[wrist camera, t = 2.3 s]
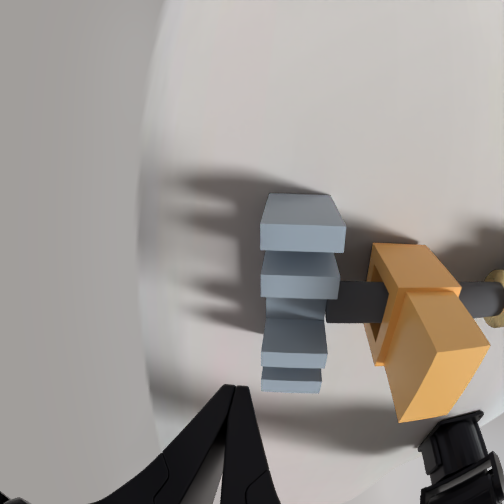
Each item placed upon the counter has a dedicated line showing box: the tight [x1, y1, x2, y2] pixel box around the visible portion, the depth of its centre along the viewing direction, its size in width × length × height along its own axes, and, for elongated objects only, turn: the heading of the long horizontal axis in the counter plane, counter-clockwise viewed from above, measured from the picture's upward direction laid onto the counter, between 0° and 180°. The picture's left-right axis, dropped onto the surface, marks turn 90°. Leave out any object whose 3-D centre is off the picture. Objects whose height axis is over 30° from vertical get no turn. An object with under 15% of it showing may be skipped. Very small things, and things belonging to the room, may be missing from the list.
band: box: [484, 270, 504, 328], centre depth 12 cm, size 1×3×3 cm, turn 1°
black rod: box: [325, 281, 504, 323], centre depth 13 cm, size 14×2×2 cm, turn 91°
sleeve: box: [363, 243, 490, 423], centre depth 11 cm, size 3×4×8 cm
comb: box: [260, 193, 346, 393], centre depth 14 cm, size 3×9×4 cm, turn 1°
